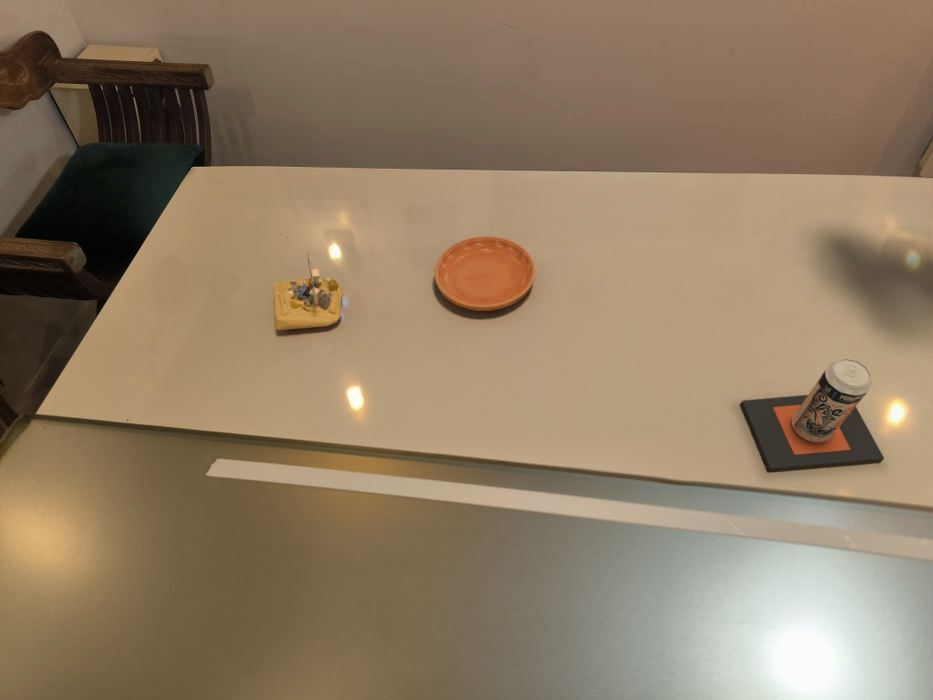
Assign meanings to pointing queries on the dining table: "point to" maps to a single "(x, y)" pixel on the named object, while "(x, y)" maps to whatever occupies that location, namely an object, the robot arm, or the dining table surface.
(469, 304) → the saucer
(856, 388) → the beer can
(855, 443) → the mat
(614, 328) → the dining table surface
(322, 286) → the cake
